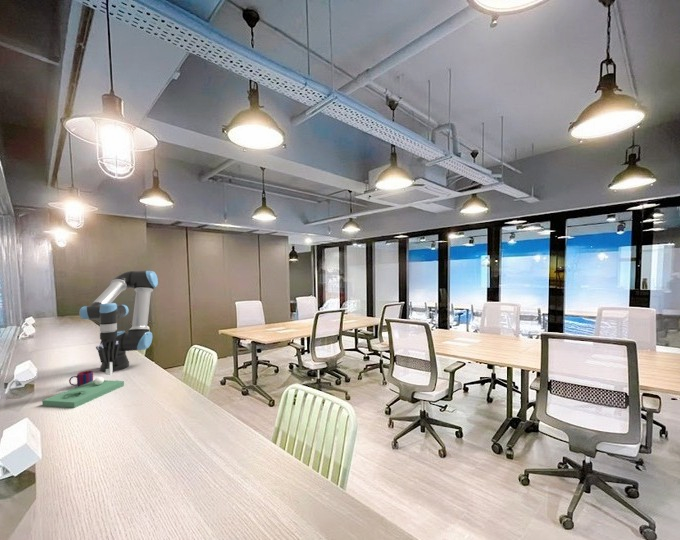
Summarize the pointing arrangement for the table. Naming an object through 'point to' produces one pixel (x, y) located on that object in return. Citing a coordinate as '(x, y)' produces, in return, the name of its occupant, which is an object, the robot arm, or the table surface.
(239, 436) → the table surface
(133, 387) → the table surface
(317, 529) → the table surface
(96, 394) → the green
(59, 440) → the table surface
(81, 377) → the mug
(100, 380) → the ball
